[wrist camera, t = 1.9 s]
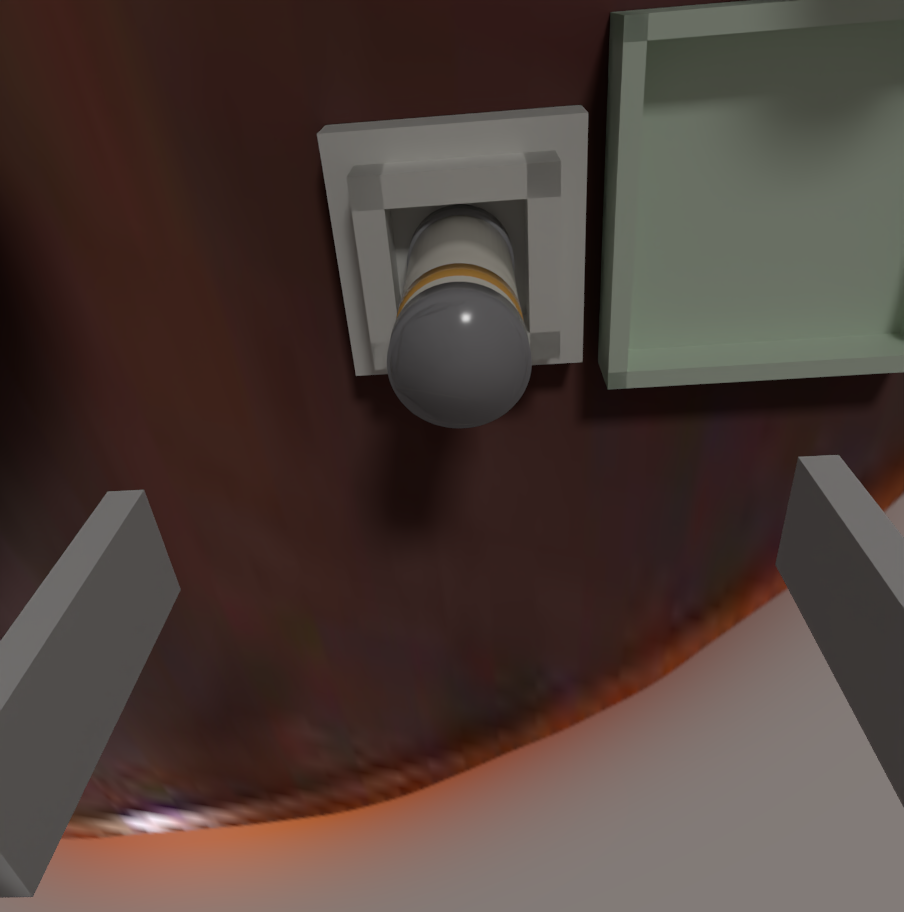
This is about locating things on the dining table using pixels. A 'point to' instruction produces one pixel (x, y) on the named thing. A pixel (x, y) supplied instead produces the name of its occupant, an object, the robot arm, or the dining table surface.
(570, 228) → the holder
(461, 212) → the fuse
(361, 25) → the dining table surface
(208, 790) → the dining table surface
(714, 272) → the tray
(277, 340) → the dining table surface
